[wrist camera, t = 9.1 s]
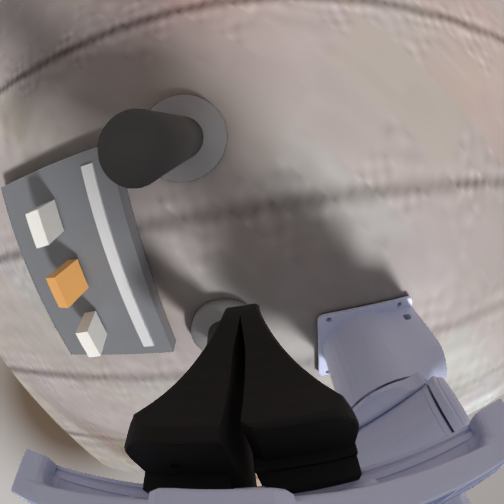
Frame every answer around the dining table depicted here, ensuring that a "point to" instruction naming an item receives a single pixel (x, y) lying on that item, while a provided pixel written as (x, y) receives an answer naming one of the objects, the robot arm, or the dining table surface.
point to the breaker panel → (91, 255)
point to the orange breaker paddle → (67, 283)
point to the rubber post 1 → (163, 142)
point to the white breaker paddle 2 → (91, 334)
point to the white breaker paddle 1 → (44, 223)
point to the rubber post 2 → (209, 319)
